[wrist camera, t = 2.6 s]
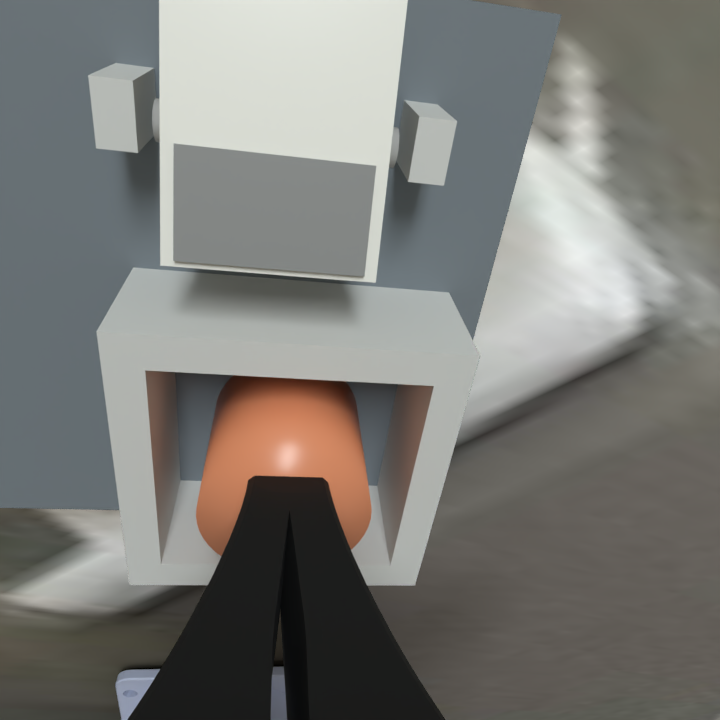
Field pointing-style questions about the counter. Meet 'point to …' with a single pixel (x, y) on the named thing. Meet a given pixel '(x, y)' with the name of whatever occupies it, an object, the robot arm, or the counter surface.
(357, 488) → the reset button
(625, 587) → the counter surface
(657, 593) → the counter surface
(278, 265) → the rocker
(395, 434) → the breaker panel
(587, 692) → the counter surface
